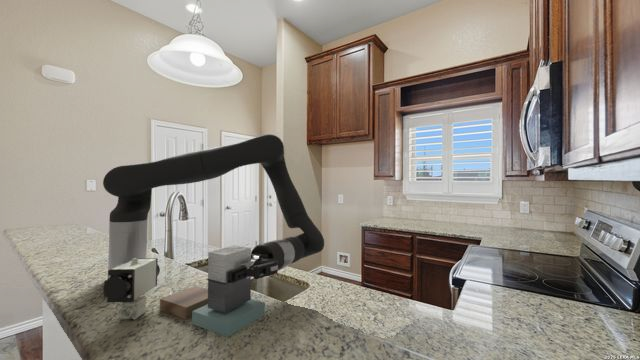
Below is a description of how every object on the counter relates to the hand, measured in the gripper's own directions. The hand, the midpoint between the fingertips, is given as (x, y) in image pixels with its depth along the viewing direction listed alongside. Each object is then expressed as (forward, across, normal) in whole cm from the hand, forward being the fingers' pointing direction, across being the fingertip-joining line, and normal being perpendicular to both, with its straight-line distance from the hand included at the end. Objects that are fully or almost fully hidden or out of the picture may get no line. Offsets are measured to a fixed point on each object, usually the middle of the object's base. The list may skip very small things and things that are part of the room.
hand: (220, 275), depth 54 cm
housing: (-3, 0, +6) cm, 7 cm away
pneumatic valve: (+6, -19, +10) cm, 22 cm away
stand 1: (-3, -12, +10) cm, 16 cm away
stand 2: (-3, 0, +10) cm, 10 cm away
